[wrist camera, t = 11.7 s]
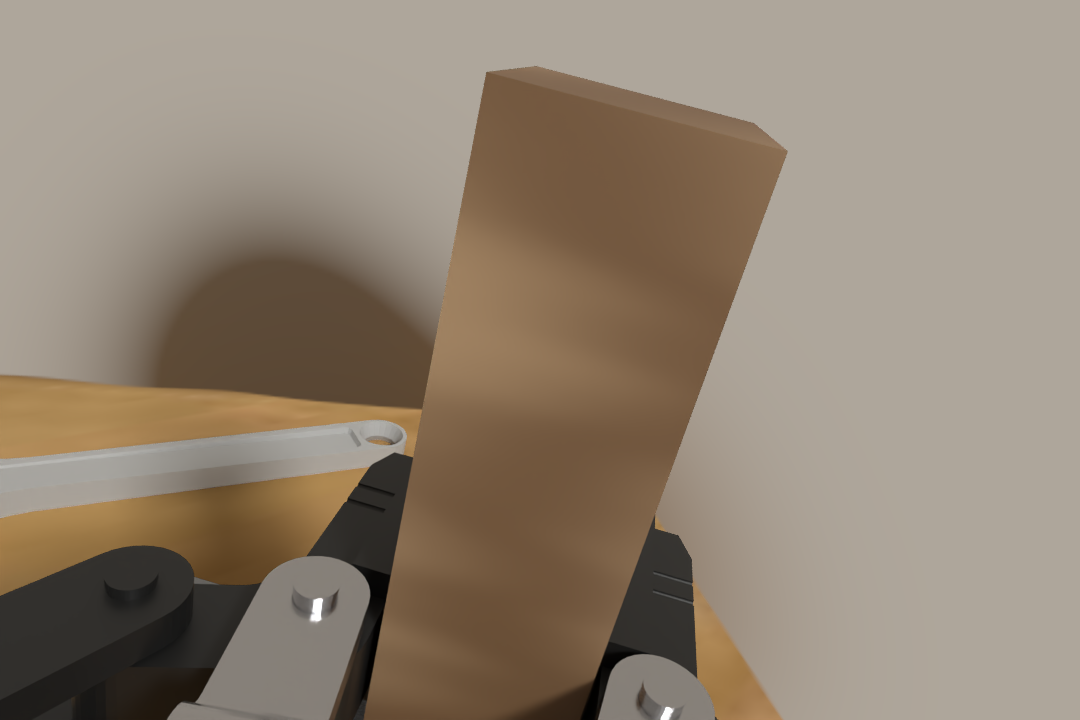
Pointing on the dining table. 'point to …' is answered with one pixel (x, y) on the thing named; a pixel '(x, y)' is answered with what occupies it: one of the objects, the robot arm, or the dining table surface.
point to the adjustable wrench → (191, 465)
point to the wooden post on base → (559, 386)
